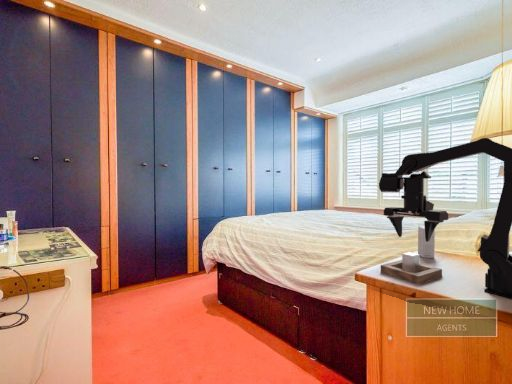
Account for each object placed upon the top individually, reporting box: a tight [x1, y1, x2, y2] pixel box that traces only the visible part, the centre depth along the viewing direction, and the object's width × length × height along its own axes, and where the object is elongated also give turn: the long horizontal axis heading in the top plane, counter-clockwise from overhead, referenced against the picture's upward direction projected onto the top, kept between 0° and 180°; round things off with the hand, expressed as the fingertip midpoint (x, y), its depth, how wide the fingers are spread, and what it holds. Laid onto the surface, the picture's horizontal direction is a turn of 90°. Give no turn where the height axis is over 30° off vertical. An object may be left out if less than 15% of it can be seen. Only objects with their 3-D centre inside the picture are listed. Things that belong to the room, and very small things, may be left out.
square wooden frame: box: [380, 259, 443, 285], centre depth 91 cm, size 13×13×2 cm
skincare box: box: [417, 225, 436, 259], centre depth 113 cm, size 6×4×12 cm
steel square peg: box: [401, 251, 420, 273], centre depth 91 cm, size 4×4×7 cm
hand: (413, 239), depth 91 cm, fingers open, 9 cm apart
